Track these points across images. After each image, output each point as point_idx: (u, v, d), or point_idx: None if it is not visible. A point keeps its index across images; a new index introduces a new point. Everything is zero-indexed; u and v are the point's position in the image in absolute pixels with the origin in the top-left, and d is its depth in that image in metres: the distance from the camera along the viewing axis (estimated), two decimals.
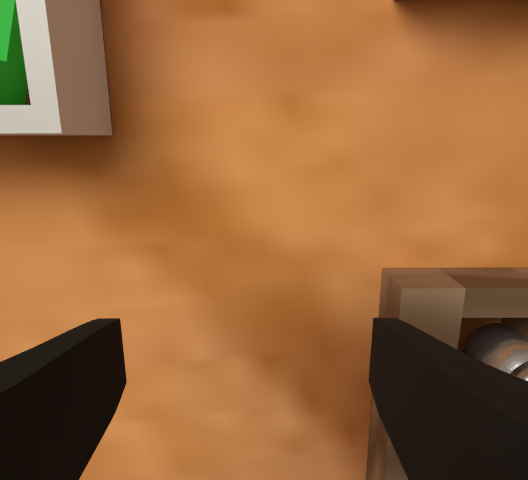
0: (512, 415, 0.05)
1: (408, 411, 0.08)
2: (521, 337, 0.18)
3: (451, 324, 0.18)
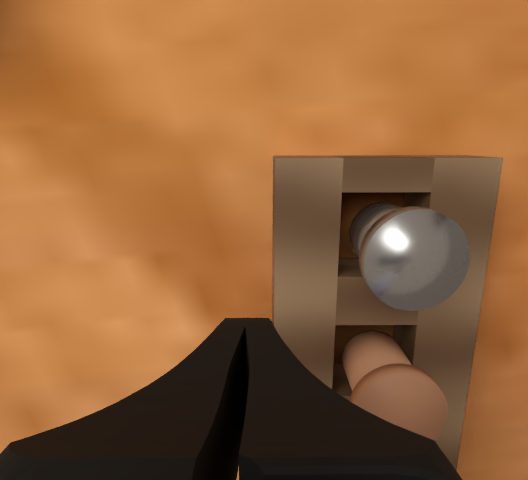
0: (248, 416, 0.05)
1: None
2: (400, 207, 0.16)
3: (331, 200, 0.17)
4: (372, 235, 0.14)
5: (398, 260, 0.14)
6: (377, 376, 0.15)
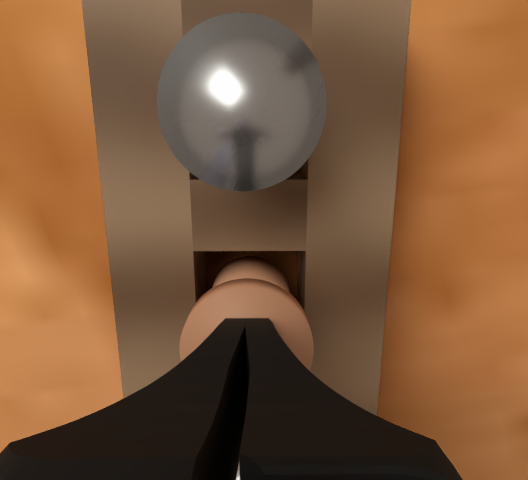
0: (248, 416, 0.05)
1: None
2: None
3: None
4: (167, 62, 0.09)
5: (211, 103, 0.09)
6: (211, 293, 0.11)
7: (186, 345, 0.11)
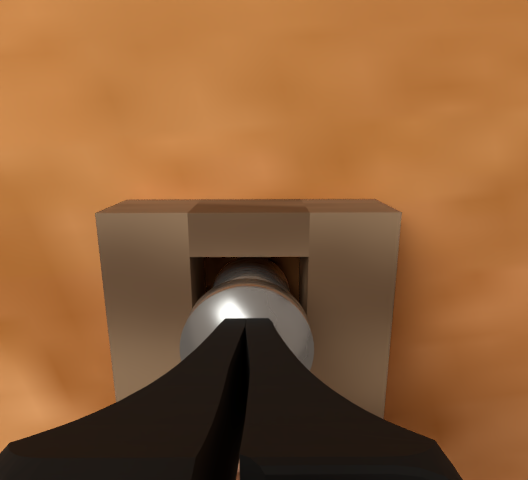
0: (248, 416, 0.05)
1: None
2: (259, 267, 0.13)
3: (177, 267, 0.13)
4: (187, 318, 0.11)
5: None
6: None
7: None
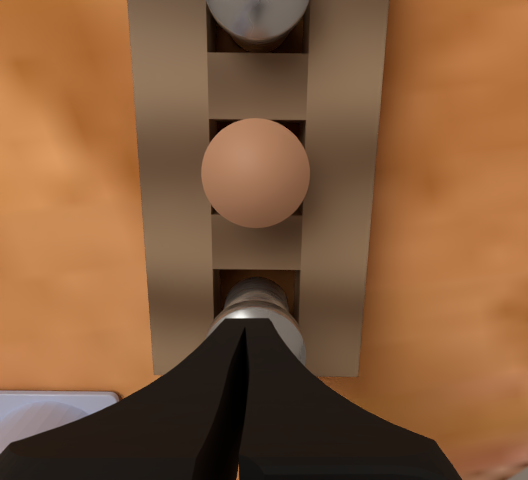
0: (248, 416, 0.05)
1: None
2: None
3: None
4: None
5: None
6: None
7: (206, 168, 0.13)
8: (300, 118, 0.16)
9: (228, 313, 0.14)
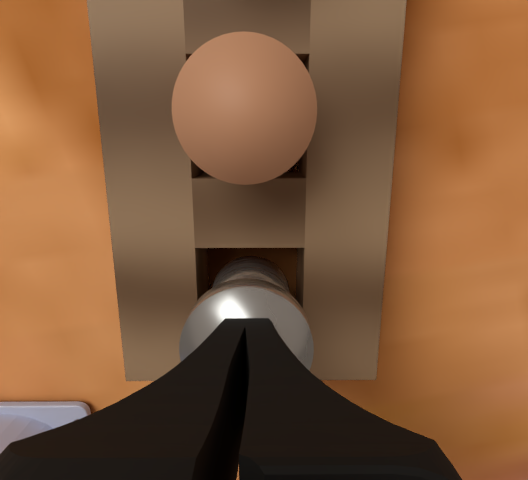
0: (248, 416, 0.05)
1: None
2: None
3: None
4: None
5: None
6: None
7: (178, 103, 0.10)
8: (302, 51, 0.12)
9: (212, 294, 0.11)
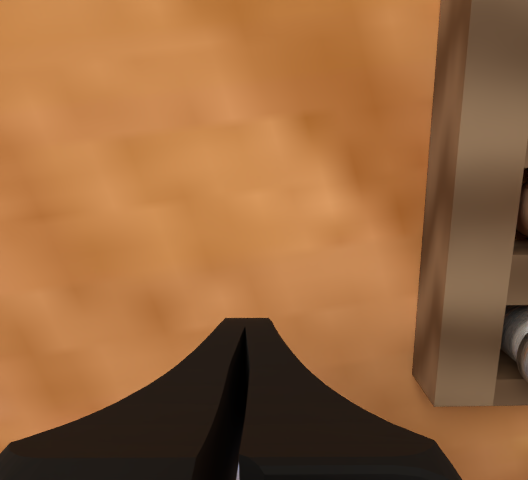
0: (248, 416, 0.05)
1: None
2: None
3: None
4: None
5: None
6: None
7: None
8: None
9: None
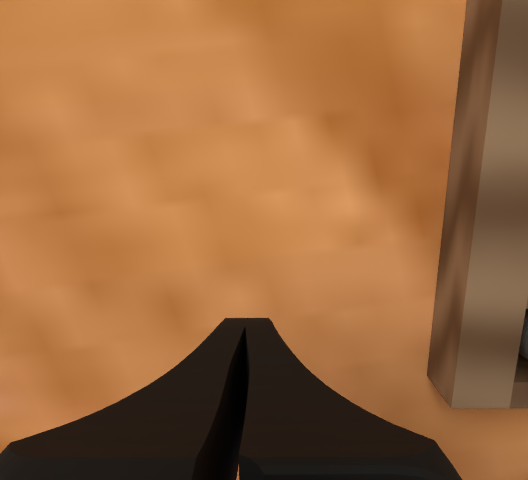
0: (248, 416, 0.05)
1: None
2: None
3: None
4: None
5: None
6: None
7: None
8: None
9: None
